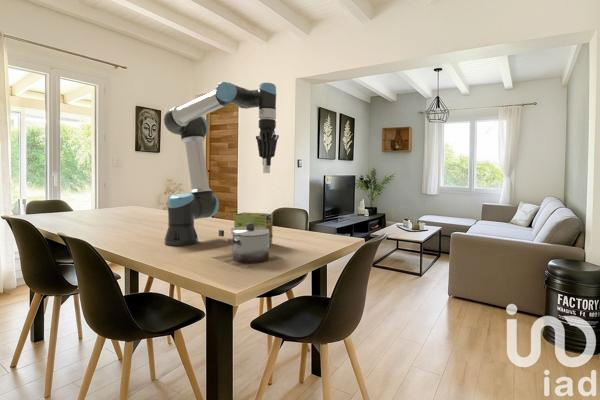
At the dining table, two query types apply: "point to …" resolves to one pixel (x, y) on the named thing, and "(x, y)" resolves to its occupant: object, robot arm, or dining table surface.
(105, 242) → the dining table surface
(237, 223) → the protein box
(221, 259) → the board
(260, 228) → the lid
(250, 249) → the pot
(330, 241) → the dining table surface
